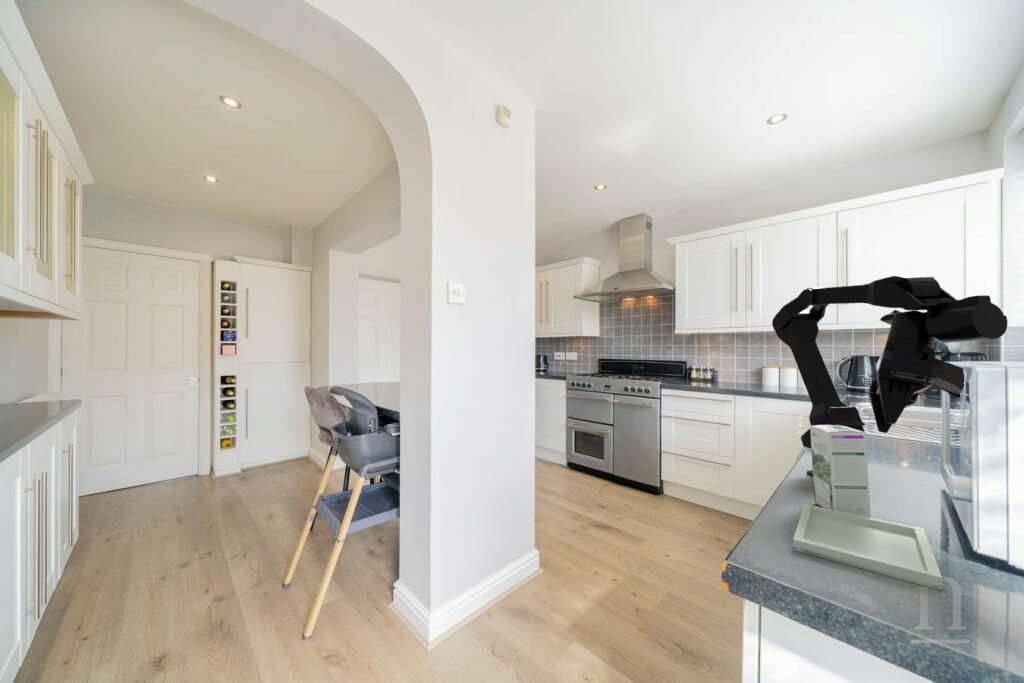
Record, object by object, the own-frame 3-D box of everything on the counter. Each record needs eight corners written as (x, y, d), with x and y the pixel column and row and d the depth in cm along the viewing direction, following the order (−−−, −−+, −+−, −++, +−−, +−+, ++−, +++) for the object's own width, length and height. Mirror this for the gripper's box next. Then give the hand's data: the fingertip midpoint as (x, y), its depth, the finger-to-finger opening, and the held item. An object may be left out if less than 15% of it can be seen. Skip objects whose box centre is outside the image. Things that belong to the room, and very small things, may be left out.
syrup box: (873, 519, 62) (868, 431, 62) (832, 516, 63) (828, 430, 63) (849, 505, 67) (845, 424, 68) (812, 503, 69) (808, 424, 69)
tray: (804, 512, 65) (804, 503, 65) (924, 538, 55) (923, 528, 55) (793, 549, 53) (793, 539, 53) (943, 591, 43) (942, 577, 43)
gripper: (1001, 334, 53) (976, 437, 51) (963, 371, 67) (942, 453, 65) (892, 321, 61) (867, 410, 59) (878, 356, 74) (857, 430, 73)
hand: (886, 427), depth 64 cm, fingers open, 9 cm apart
